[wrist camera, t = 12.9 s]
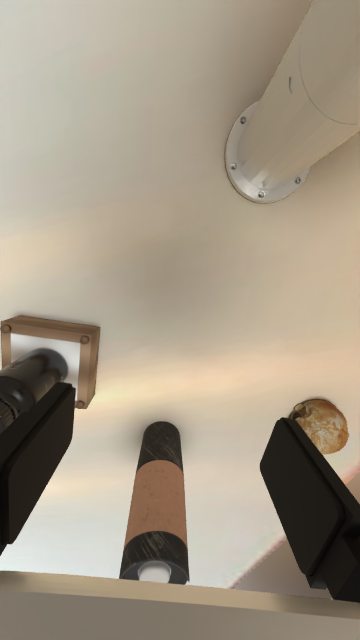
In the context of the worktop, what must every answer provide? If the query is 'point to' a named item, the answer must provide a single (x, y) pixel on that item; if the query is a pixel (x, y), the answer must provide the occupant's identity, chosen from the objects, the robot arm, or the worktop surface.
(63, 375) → the supplement bottle
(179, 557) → the travel mug
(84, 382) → the walnut base block
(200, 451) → the worktop surface
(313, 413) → the bread roll
